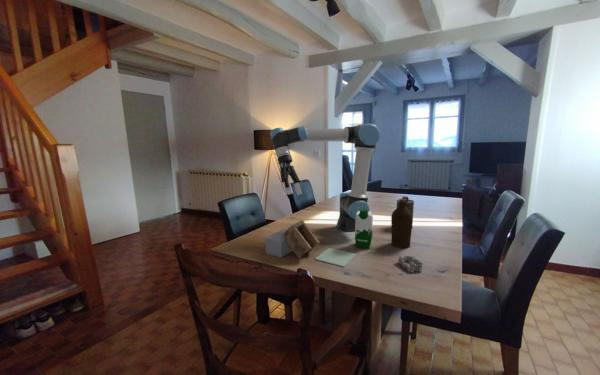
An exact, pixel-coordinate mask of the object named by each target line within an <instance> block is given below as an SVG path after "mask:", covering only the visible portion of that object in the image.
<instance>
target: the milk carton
mask: <svg viewBox="0 0 600 375" xmlns="http://www.w3.org/2000/svg"><path fill="white" fill-rule="evenodd" d="M373 220H374V217H373V212H372V211H369V212H368V210H365V209H362V210H360V211H358V212H357V214H356V220H355V231H354V240H355V248H359V249H367V250H369V249H370V248H371V245H372V244H371V243H372V239H373V228H374V227H373V225H374V224H373V223H374V222H373Z"/></svg>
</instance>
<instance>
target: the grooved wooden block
mask: <svg viewBox="0 0 600 375" xmlns="http://www.w3.org/2000/svg"><path fill="white" fill-rule="evenodd" d="M286 230H287V231H286V232H285V233H284V234H283V235H282V236H283V237H284V239H285V240H286V242H287V243H288V244H289V246H290V247H291V248H292V250H293V251H292V252H294V253H295V255H296V256H297V258H298V259H301V258H302V257H304V255H305V254H306V253H307V254H308V253H309V252H311V251H312V250H313V249H314V248H315V247H316V246H318V244H320V241H319V240H318V238H317V237H316V236H315V234H314V233H313V232H312V231H311V229H310V228H309V227H308V225H307V224H306V223H305V222H304V220H300V221H298V222H295V223H293V224H292V225H290V227H289V228H288V229H286Z"/></svg>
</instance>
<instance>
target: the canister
mask: <svg viewBox="0 0 600 375" xmlns="http://www.w3.org/2000/svg"><path fill="white" fill-rule="evenodd" d="M400 199H406V207H407V208H408V209H409V210H410V212H411V213H412V215H413V216H414V208H415V206H414V204H415V201H414V200H412V199H409V196H404V195H403V196H402V198H399V199H396V208H398V207H399V202H400ZM412 225H413V223H412ZM412 229H414V227H413V226H412Z"/></svg>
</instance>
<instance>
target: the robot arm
mask: <svg viewBox="0 0 600 375" xmlns="http://www.w3.org/2000/svg"><path fill="white" fill-rule="evenodd" d="M269 134H270V139H271V143H272V145H273V149H274V152H275V157H276V159H277V162H278V165H279V169H280V180H281V183H284V187H285V191H286V194H287V195H288V196H289V195H292V194H294V192H293V189H292V186H291V181H290V180H289V178H290V179H291V180H292V181H293V186H294V189H295V192H296V195H297V196H300V195H303V192H302V188H301V186H300V183H301V180H300V179H299V177H298V175H297V172H296V170H295V167H294V165H291V163H292V162H293V157H292V155H291V151H290V148H289V145H291V144H295V143H302V142H303V143H304V142H307V143H309V142H310V143H311V142H313V143H315V142H344V144H354V146H353V148H354V149H355V157H354V158H355V160H354V164H353V173H352V174H353V175H352V182H351V188H350V192H347V191H346V192H341V193H339V198H338V199H339V216H338V219H337V222H336V229H338V230H339V231H343V232H355V220H356V214H357V212H358V211H360V210H362V209H365V210H368V212H370V205H369V204H368V200H369V196H368V195H367V190H368V189H367V188H368V181H369V173H370V167H371V162H372V154H373V152H374V151H375V150H376V145H377V143H378V142H379V141H380V139H381V130H380V129H379V127H378V126H377V125H375V124H373V123H368V122H367V123H363V124H357V125H353V126H344V128H307V127H306V126H304V125H302V126H298V127H294V128H291V129H290V128H289V129H287V130H285V129H283V128H282V127H275V128H273V129H272V130H270V133H269ZM289 176H290V177H289Z"/></svg>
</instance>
